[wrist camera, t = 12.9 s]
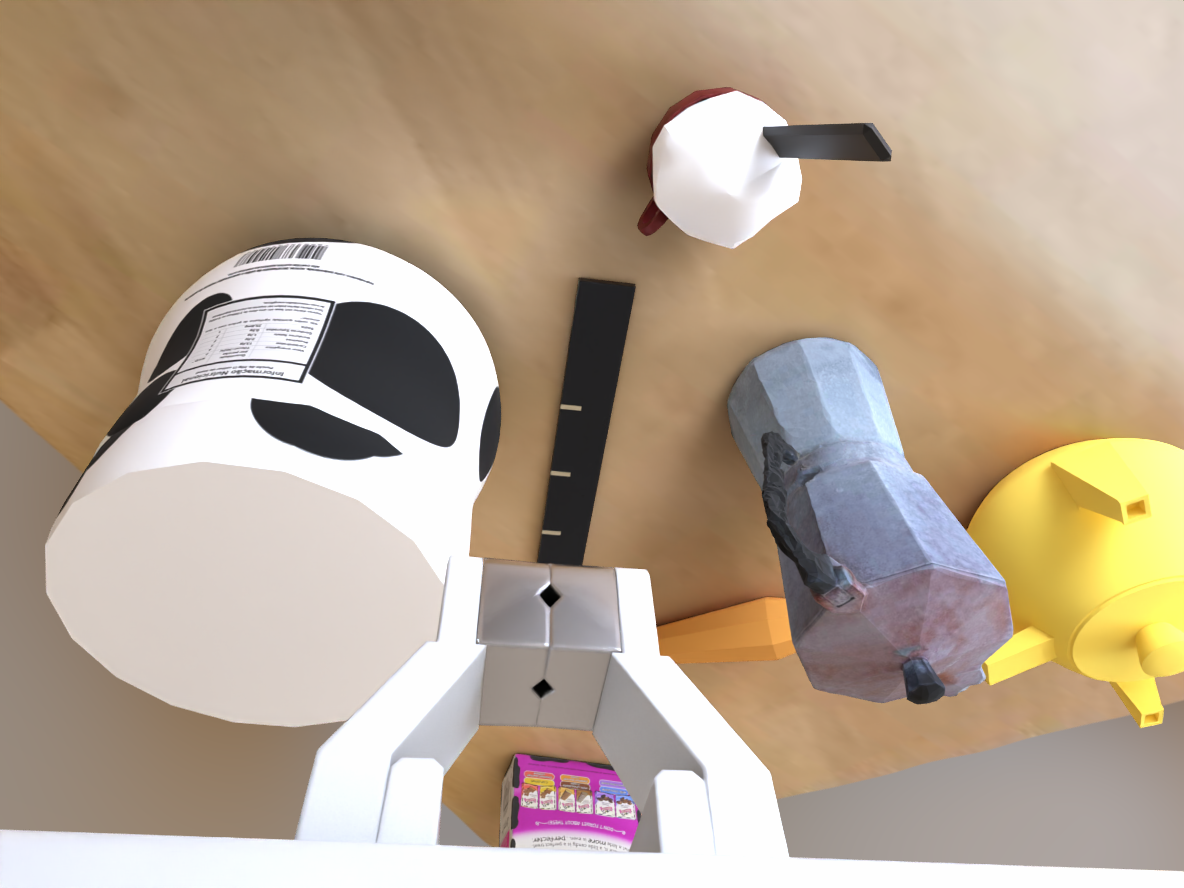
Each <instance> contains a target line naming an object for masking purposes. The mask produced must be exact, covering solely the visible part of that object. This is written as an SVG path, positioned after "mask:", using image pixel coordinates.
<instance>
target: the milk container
mask: <svg viewBox="0 0 1184 888" xmlns="http://www.w3.org/2000/svg"><path fill="white" fill-rule="evenodd" d="M500 427H501V402H500V393H499V385H498V381H497V376H496V371H495V367H494V364H493V360H492V357H491V354H490V351H489V348H488V346H487V344H486V342H485V339H484V337H483V335H482V333H481V332H480V330H479V328H478V326H477V325H476V323H475V322H474V320H473V319H472V317H471V316H470V314H469V313H468V312H467V311H466V310H465V308H464V307H463V306H462V305H461V303H460V302H459V301H458V300H457V299H456V298H455V297H454V296H453V295H452V294H451V293H450V292H449V291H448V290H446V289H445V288H444V287H443V286H442V285H441V284H440V283H438V282H437V281H436V280H434V279H433V278H432V277H431V276H429V275H428V274H427V273H425V272H423V271H422V270H420V269H418V268H417V267H415V266H413V265H411V264H410V263H408V262H406V261H404V260H402V259H400V258H398V257H395V256H393V255H391V254H389V253H386V252H384V251H382V250H379V249H377V248H374V247H370V246H366V245H362V244H358V243H353V242H348V241H343V240H335V239H327V238H295V239H287V240H280V241H275V242H271V243H266V244H263V245H260V246H257V247H253V248H251V249H249V250H246V251H244V252H241V253H239V254H237V255H236V256H234V257H232V258H230V259H228V260H227V261H225V262H223V263H221V264H220V265H218V266H217V267H215V268H214V269H212V270H211V271H209V272H208V273H207V274H205V275H204V276H202V277H201V278H200V279H199V280H198V281H196V282H195V283H194V284H193V285H192V286H191V287H190V288H189V289H187V290H186V291H185V292H184V293H183V294H182V296H181V297H180V298H179V299H178V300H177V301H176V302H175V303H174V305H173V306H172V307H171V308H170V310H169V311H168V313H167V314H166V315H165V317H164V318H163V320H162V321H161V323H160V325H159V327H158V329H157V331H156V333H155V334H154V336H153V338H152V340H151V343H150V345H149V348H148V351H147V354H146V357H145V361H144V365H143V369H142V373H141V378H140V384H139V390H138V394H137V396H136V397H135V399H134V400H133V401H132V403H131V404H130V405H129V407H128V408H127V409H126V410H125V411H124V413H123V414H122V415H121V416H120V418H119V419H118V420H117V422H116V423H115V424H114V425H113V427H112V428H111V429H110V431H109V432H108V434H107V435H106V436H105V438H104V439H103V440H102V442H101V443H100V445H99V447H98V449H97V450H96V452H95V454H94V457H93V459H92V460H91V462H90V463H89V465H88V466H87V468H86V470H85V471H84V473H83V474H82V476H81V477H80V479H79V481H78V482H77V484H76V485H75V487H74V488H73V490H72V491H71V493H70V495H69V496H68V498H67V499H66V501H65V502H64V505H63V506H62V508H61V510H60V512H59V514H58V516H57V518H56V520H55V522H54V525H53V526H52V528H51V530H50V533H49V536H48V539H47V542H46V545H45V557H46V559H45V560H46V594H47V595H48V597H49V599H50V601H51V603H52V604H53V606H54V608H55V610H56V611H57V613H58V615H59V617H60V618H61V620H62V622H63V624H64V625H65V627H66V629H67V631H68V633H69V634H70V636H71V638H72V639H73V640H74V641H75V642H76V643H78V644H79V645H80V646H81V647H82V648H84V649H85V650H86V651H87V652H88V653H89V654H90V655H92V656H93V657H94V658H95V659H96V660H97V661H98V662H100V663H101V664H102V665H103V666H104V667H105V668H106V669H108V670H109V671H110V672H111V673H112V674H113V675H114V676H116V677H117V678H119V679H121V680H123V681H125V682H127V683H129V684H131V685H133V686H135V687H137V688H139V689H141V690H143V691H145V692H147V693H149V694H151V695H153V696H155V697H157V698H159V699H161V700H162V701H165V702H166V703H168V704H170V705H173V706H176V707H180V708H184V709H188V710H191V711H195V712H198V713H202V714H205V715H209V716H213V717H216V718H220V719H223V720H227V721H231V722H237V723H250V724H262V725H275V726H289V727H300V726H307V725H315V724H323V723H330V722H339V721H347V720H348V719H349V718H350V717H351V716H352V715H353V714H354V713H355V712H356V711H357V710H358V709H359V708H360V707H361V706H362V705H363V704H364V703H365V702H366V701H367V700H368V699H369V698H370V697H371V696H372V695H373V694H374V693H375V692H376V691H377V690H378V689H379V688H380V687H381V686H382V685H383V684H384V683H385V682H386V681H387V680H388V679H389V678H390V677H391V676H392V675H393V674H394V673H395V672H396V671H397V670H398V669H399V668H400V667H401V666H402V665H403V664H404V663H405V662H406V661H407V660H408V659H409V658H410V657H411V656H412V655H413V654H414V653H415V652H416V651H417V650H418V649H419V648H420V647H421V646H422V645H423V644H424V643H425V642H426V641H433V642H436V638H437V631H438V624H439V617H440V610H441V603H442V596H443V589H444V582H445V575H446V568H447V562H448V559H449V556H450V555H458V556H469V547H470V535H471V520H472V508H473V504H474V502H475V500H476V498H477V497H478V495H479V493H480V491H481V490H482V488H483V486H484V484H485V482H486V479H487V477H488V475H489V473H490V471H491V468H492V465H493V462H494V459H495V455H496V451H497V447H498V442H499V437H500Z"/></svg>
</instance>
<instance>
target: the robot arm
mask: <svg viewBox="0 0 1184 888" xmlns="http://www.w3.org/2000/svg"><path fill="white" fill-rule="evenodd" d="M482 570H483V575H482ZM481 582H482V586H481ZM480 595H481V596H480ZM479 725H490V726H530V727H546V728H559V729H572V730H584V731H593V733H592V734H593V736H594V737H595V739H596V741H597V742H598V744H599V746H600V747H601V749H602V751H603V752H604V754H605V755H606V757H607V759H608V760H609V762H610V764H611V765H612V767H613V768H614V770H615V772H616V773H617V775H618V777H619V778H620V780H621V781H622V783H623V785H624V786H625V788H626V790H627V791H628V793H629V795H630V796H631V798H632V799H633V801H634V803H635V804H636V806H637V808H638V809H639V811H640V812H641V814H642V815H641V818H640V821H639V824H638V827H637V830H636V833H635V836H634V839H633V841H632V844H631V847H630V850H629V852H619V851H590V850H562V849H534V848H506V847H477V846H449V845H439V835H440V819H441V804H442V789H443V777H444V775H445V774H446V772H447V771H448V770H449V768H450V767H451V766H452V764H453V763H454V762H455V760H456V759H457V757H458V756H459V755H460V753H461V752H462V751H463V749H464V748H465V746H466V745H467V744H468V742H469V741H470V740H471V738H472V737H473V736H474V734H475V733H476V731H477V730H478V728H479ZM0 888H1184V871H1160V870H1159V871H1158V870H1129V869H1103V868H1073V867H1047V866H1018V865H989V864H961V863H933V862H905V861H904V862H903V861H877V860H848V859H819V858H793V857H789V855H788V850H787V846H786V841H785V837H784V833H783V828H782V824H781V819H780V814H779V810H778V805H777V801H776V796H775V792H774V787H773V783H772V778H771V774H770V772H769V771H768V770H767V768H766V767H765V766H764V765H763V764H762V763H761V761H760V760H759V759H758V758H757V757H756V756H755V755H754V753H753V752H752V751H751V750H750V749H749V748H748V746H747V745H746V744H745V743H744V742H743V741H742V740H741V738H740V737H739V736H738V735H737V734H736V733H735V732H734V730H733V729H732V728H731V727H730V726H729V725H728V723H727V722H726V721H725V720H724V719H723V718H722V717H721V715H720V714H719V713H718V712H717V711H716V710H715V708H714V707H713V706H712V705H711V704H710V703H709V702H708V700H707V699H706V698H705V697H704V696H703V695H702V693H701V692H700V691H699V690H698V689H697V688H696V687H695V685H694V684H693V683H692V682H691V681H690V680H689V679H688V677H687V676H686V675H685V674H684V673H683V672H682V670H681V669H680V668H679V667H678V666H677V665H676V664H675V662H674V661H673V660H672V659H671V658H670V657H669V656H660V653H659V645H658V637H657V629H656V622H655V614H654V606H653V598H652V590H651V582H650V575H649V573H648V572H647V570H644V569H629V568H614V569H613V568H612V567H599V566H583V565H568V564H552V563H549V564H545V563H535V562H525V561H515V560H505V559H494V558H484V565H483V558H477V557H468V556H458V555H450V556H449V559H448V562H447V568H446V575H445V582H444V589H443V596H442V603H441V610H440V617H439V624H438V631H437V638H436V642H433V641H426V642H425V643H424V644H423V645H422V646H421V647H420V648H419V649H418V650H417V651H416V652H415V653H414V654H413V655H412V656H411V657H410V658H409V659H408V660H407V661H406V662H405V663H404V664H403V665H402V666H401V667H400V668H399V669H398V670H397V671H396V672H395V673H394V674H393V675H392V676H391V677H390V678H389V679H388V680H387V681H386V682H385V683H384V684H383V685H382V686H381V687H380V688H379V689H378V690H377V691H376V692H375V693H374V694H373V695H372V696H371V697H370V698H369V699H368V700H367V701H366V702H365V703H364V704H363V705H362V706H361V707H360V708H359V709H358V710H357V711H356V712H355V713H354V714H353V715H352V716H351V717H350V718H349V719H348V720H347V721H346V722H345V723H344V724H343V725H342V726H341V727H340V728H339V729H338V730H337V731H336V732H335V733H334V734H333V735H332V736H331V737H330V738H329V739H328V740H327V741H326V742H325V743H324V744H323V745H322V746H321V747H320V748H319V749H318V750H317V753H316V757H315V761H314V765H313V769H312V773H311V776H310V780H309V784H308V788H307V792H306V796H305V799H304V803H303V808H302V811H301V815H300V819H299V823H298V827H297V830H296V834H295V839H294V840H280V839H252V838H223V837H195V836H167V835H138V834H111V833H83V832H54V831H26V830H0Z"/></svg>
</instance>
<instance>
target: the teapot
mask: <svg viewBox="0 0 1184 888" xmlns="http://www.w3.org/2000/svg"><path fill="white" fill-rule="evenodd" d="M966 532H967V533H968V534H969V535H970V537H971V538H972V539H973V540H974V542H975V543H976V544H977V545H978V547H979V548H980V549H981V550H982V552H983V553H984V554H985V556H986V557H987V558H988V559H989V561H990V562H991V563H992V564H993V566H994V567H995V568H996V570H997V571H998V572H999V573H1000V574H1001V576H1002V577H1003V578H1004V579H1005V582H1006V586H1007V590H1008V597H1009V604H1010V611H1011V617H1012V623H1013V636H1012V638H1011V639H1010V640H1009V641H1008V642H1006V643H1005V644H1004V645H1003V646H1002V647H1001V648H1000V649H999V650H997V651H996V652H995V653H994V654H993V655H992V656H990V657H989V658H988V659H987V660H986V661H985V662H984V663H983V664H982V669H983V672H984V673H985V675H986V679H985V681H986V682H987V683H988V684H989V685H993V684H995V683H997V682H1000V681H1002V680H1005V679H1007V678H1009V677H1012V676H1014V675H1017V674H1019V673H1022V672H1024V671H1026V670H1029V669H1031V668H1034V667H1036V666H1038V665H1041V664H1043V663H1046V662H1048V661H1053V662H1055V663H1057V664H1059V665H1061V666H1063V667H1065V668H1067V669H1069V670H1071V671H1074V672H1076V673H1079V674H1081V675H1084V676H1087V677H1089V678H1093V679H1096V680H1101V681H1109V682H1110V684H1111V685H1112V687H1113V688H1114V690H1115V691H1116V693H1117V694H1118V696H1119V697H1120V699H1121V700H1122V702H1123V703H1124V705H1125V706H1126V708H1127V709H1128V710H1129V712H1130V713H1131V715H1132V716H1133V718H1134V719H1135V721H1136V722H1137V724H1138V725H1139V727H1140V728H1142V727H1147V726H1152V725H1157V724H1161V723H1162V720H1163V713H1164V709H1163V707H1162V706H1161V702H1160V698H1159V694H1158V691H1157V687H1156V683H1155V679H1154V677H1164V676H1170V675H1174V674H1177V673H1180V672H1182V671H1184V451H1183V450H1181V449H1178V448H1176V447H1174V446H1171V445H1169V444H1165V443H1162V442H1158V441H1152V440H1145V439H1130V438H1110V439H1098V440H1088V441H1083V442H1077V443H1073V444H1070V445H1066V446H1062V447H1059V448H1057V449H1054V450H1051V451H1048V452H1046V453H1044V454H1042V455H1039V456H1037V457H1035V458H1033V459H1031V460H1030V461H1028V462H1026V463H1024V464H1023V465H1021V466H1019V467H1018V468H1017V469H1015V470H1014V471H1012V472H1011V473H1009V474H1008V475H1007V476H1006V477H1005V478H1003V479H1002V480H1001V481H1000V482H999V483H998V484H997V485H996V486H995V487H994V488H993V489H992V490H991V491H990V492H989V494H988V495H987V496H986V497H985V499H984V500H983V502H982V503H981V505H980V506H979V508H978V509H977V511H976V513H975V514H974V516H973V518H972V520H971V522H970V524H969V527H968V529H967V531H966Z"/></svg>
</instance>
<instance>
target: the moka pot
mask: <svg viewBox="0 0 1184 888" xmlns="http://www.w3.org/2000/svg"><path fill="white" fill-rule="evenodd" d="M727 407H728V415H729V421H730V427H731V433H732V436H733V438H734V440H735V442H736V444H737V446H738V448H739V450H740V451H741V453H742V455H743V457H744V459H745V460H746V462H747V464H748V466H749V468H750V470H751V472H752V474H753V476H754V477H755V479H756V481H757V483H758V484H759V486H760V488H761V490H762V498H763V502H764V507H765V512H766V514H767V519H768V520H767V526H768V527H769V528H770V530H771V533H772V536H773V537H774V538H775V542H776V544H777V549H778V555H779V561H780V567H781V573H782V579H783V586H784V592H785V598H786V605H787V611H788V618H789V625H790V631H791V637H792V643H793V645H794V648H795V650H796V652H797V654H798V656H799V658H800V660H801V663H802V665H803V667H804V669H805V671H806V674H807V676H808V678H809V680H810V682H811V684H812V686H813V687H814V688H815V689H817V690H820V691H824V692H828V693H834V694H840V695H845V696H850V697H854V698H858V699H863V700H868V701H872V702H878V703H886V702H889V701H893V700H897V699H901V698H905V697H907V700H909V701H911V702H913V703H915V704H927V703H931V702H934V701H937V700H938V699H940V698H941V697H942V696H949V697H951V696H957V694H958V693H959V692H962V691H964V690H966V689H967V688H968V687H969V686H970V685H975V684H980V683H981V682H982V681H984V680H985V679H986V675H985V673H984V672H983V669H982V664H983V663H984V662H985V661H986V660H987V659H988V658H989V657H990V656H992V655H993V654H994V653H995V652H996V651H997V650H999V649H1000V648H1001V647H1002V646H1003V645H1004V644H1005V643H1006V642H1008V641H1009V640H1010V639H1011V638H1012V636H1013V623H1012V617H1011V611H1010V604H1009V597H1008V590H1007V586H1006V582H1005V579H1004V578H1003V577H1002V576H1001V574H1000V573H999V572H998V571H997V570H996V568H995V567H994V566H993V564H992V563H991V562H990V561H989V559H988V558H987V557H986V556H985V554H984V553H983V552H982V550H981V549H980V548H979V547H978V545H977V544H976V543H975V542H974V540H973V539H972V538H971V537H970V535H969V534H968V533H967V532H966V530H965V529H964V528H963V526H962V525H961V524H960V523H959V521H958V520H957V519H956V517H955V516H954V515H953V513H952V512H951V511H950V510H949V508H948V507H947V506H946V505H945V503H944V502H943V501H942V499H941V498H940V497H939V496H938V494H937V493H936V492H935V490H934V489H933V488H932V487H931V485H930V484H929V483H928V481H927V480H926V479H925V477H924V476H923V475H920V474H918V473H915V472H913V470H912V469H911V467H910V465H909V463H908V462H907V461H906V460H905V457H904V452H903V449H902V445H901V442H900V438H899V435H898V432H897V429H896V426H895V423H894V420H893V416H892V413H891V410H890V407H889V403H888V400H887V396H886V393H885V390H884V387H883V383H882V380H881V377H880V374H879V371H878V368H877V367H876V365H875V364H874V363H873V362H872V361H871V360H870V359H869V358H868V357H867V356H866V355H865V354H864V353H862V352H861V351H860V350H859V349H858V348H857V347H856V346H854V345H852V344H851V343H848V342H844V341H840V340H836V339H833V338H807V339H800V340H796V341H790V342H787V343H784V344H782V345H780V346H778V347H776V348H774V349H771V350H769V351H767V352H765V353H763V354H762V355H760V356H758V357H755V358H753V359H752V360H751V361H750V362H749V364H748V365H747V366H746V367H745V368H744V370H743V371H742V373H741V375H740V376H739V377H738V378H737V380H736V382H735V384H734V386H733V388H732V390H731V393H730V395H729V398H728V400H727Z"/></svg>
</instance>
